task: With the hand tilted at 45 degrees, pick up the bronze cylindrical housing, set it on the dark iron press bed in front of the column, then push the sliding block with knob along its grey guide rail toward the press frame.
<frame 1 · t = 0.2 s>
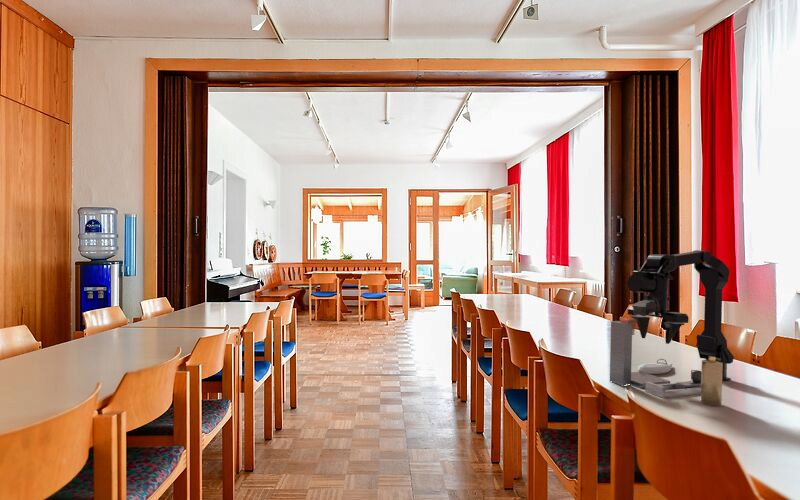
hand: (655, 340, 153), 14 cm above the table, tool pointing down, fingers open, 9 cm apart
housing: (711, 403, 136), on the table
guide rail: (679, 391, 146), on the table
sliding block with knob: (690, 381, 148), point 3 cm above the table, slide at 0.0 cm
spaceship: (655, 371, 172), on the table, touching press bed
press bed: (640, 381, 157), on the table
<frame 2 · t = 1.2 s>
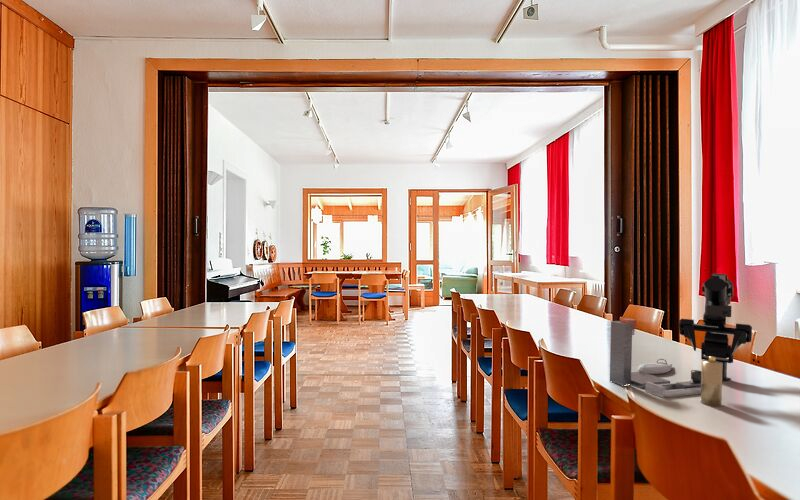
hand: (712, 352, 142), 13 cm above the table, tool tilted 45°, fingers open, 9 cm apart
nothing on the table moved.
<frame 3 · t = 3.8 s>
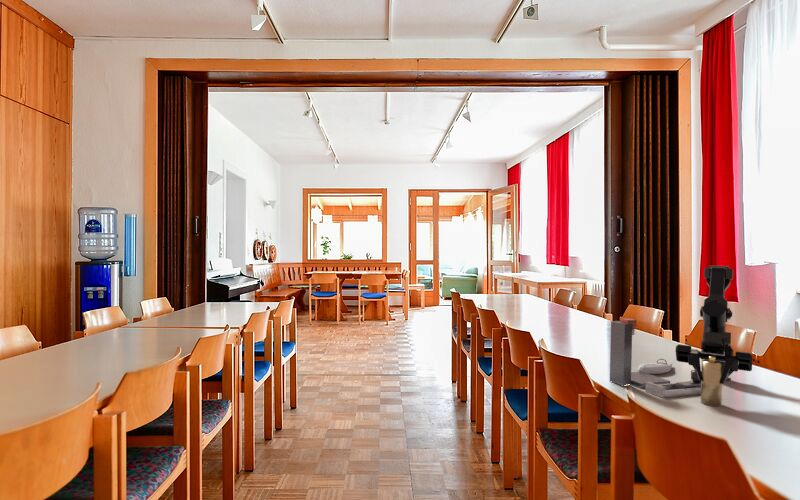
hand: (711, 381, 135), 7 cm above the table, tool tilted 45°, fingers closed on housing, 5 cm apart
housing: (711, 403, 136), on the table, touching gripper
everything else where it was.
when the fingers open (9 cm above the table, at t = 8.2 s): housing drops 1 cm, resting on press bed.
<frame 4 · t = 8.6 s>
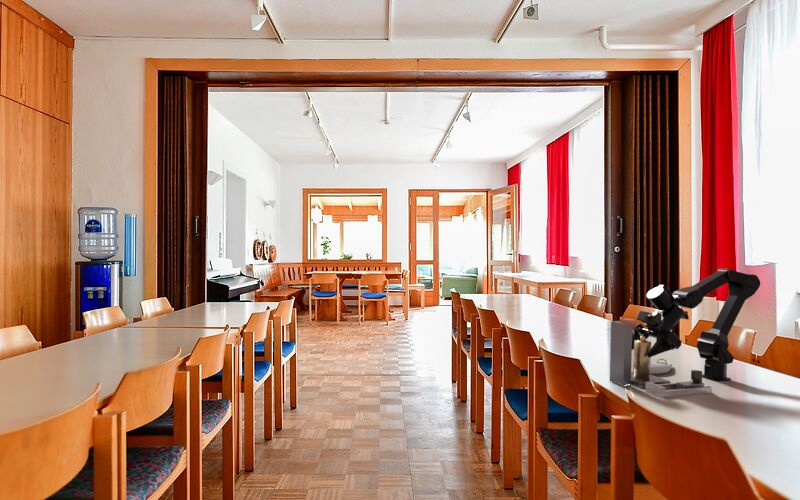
hand: (637, 353, 157), 10 cm above the table, tool tilted 45°, fingers open, 9 cm apart
housing: (641, 377, 157), point 2 cm above the table, touching press bed
everything else where it was.
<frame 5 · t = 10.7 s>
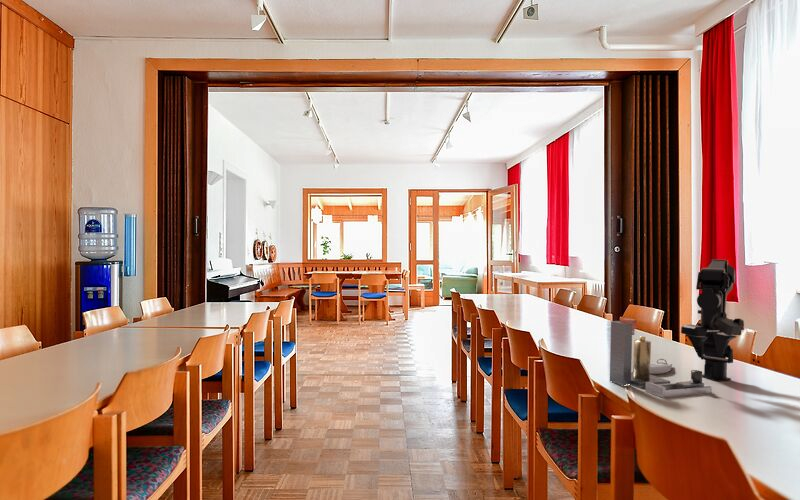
hand: (710, 357, 150), 10 cm above the table, tool pointing down, fingers open, 8 cm apart
nothing on the table moved.
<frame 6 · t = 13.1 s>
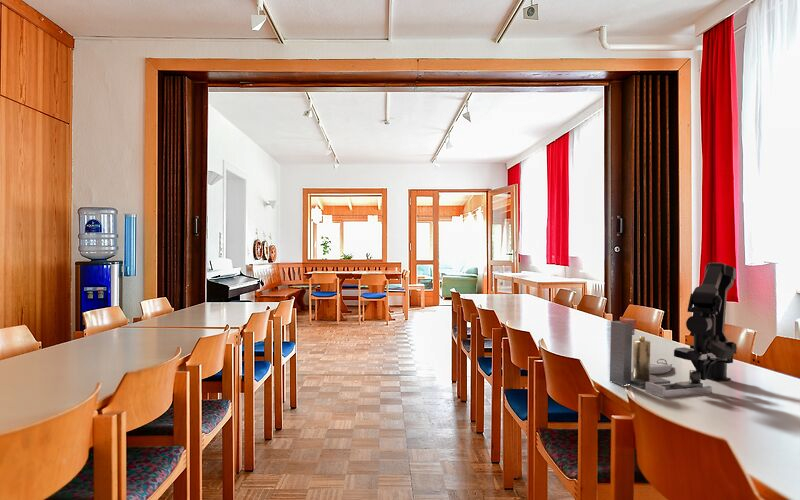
hand: (702, 379, 149), 3 cm above the table, tool pointing down, fingers closed
sliding block with knob: (688, 381, 148), point 3 cm above the table, slide at 0.7 cm, touching gripper
everything else where it was.
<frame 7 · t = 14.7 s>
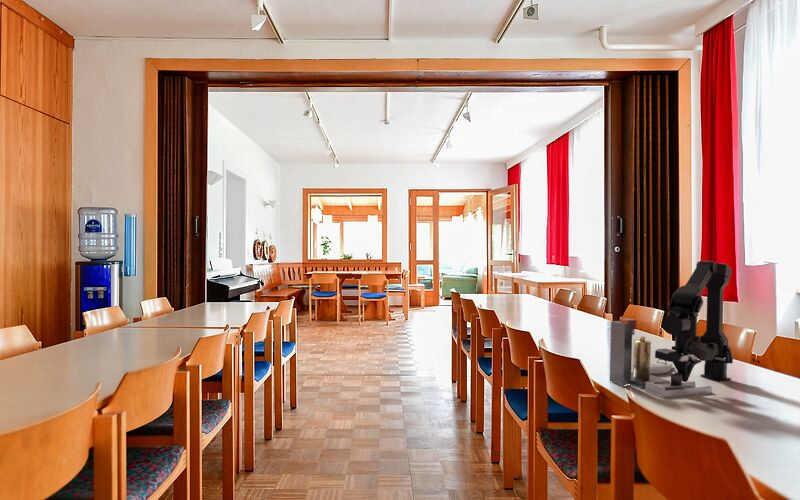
hand: (684, 381, 147), 3 cm above the table, tool pointing down, fingers closed
sliding block with knob: (670, 383, 145), point 3 cm above the table, slide at 8.2 cm, touching gripper
everything else where it was.
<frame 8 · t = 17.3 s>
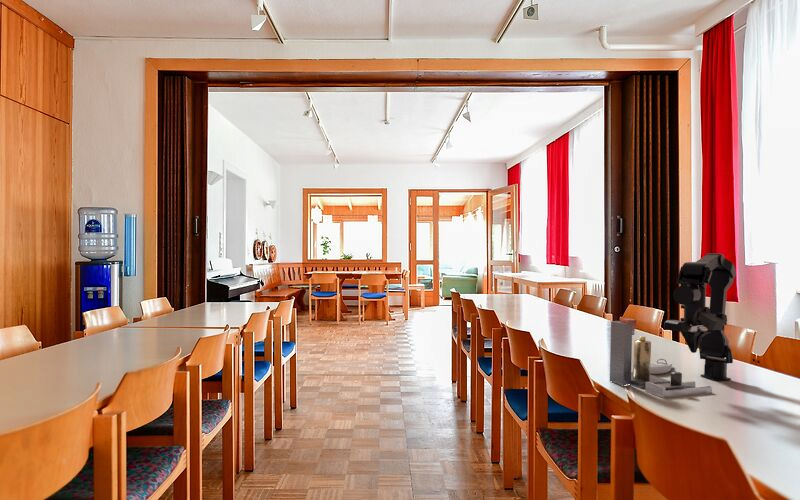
hand: (693, 352, 148), 12 cm above the table, tool pointing down, fingers closed
sliding block with knob: (669, 383, 145), point 3 cm above the table, slide at 8.3 cm
everything else where it was.
at the end: housing inside the target area on the press bed (0.1 cm from its centre), point 1.5 cm above the press bed's base; housing tilted 1°; sliding block with knob slide at 8.3 cm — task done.
